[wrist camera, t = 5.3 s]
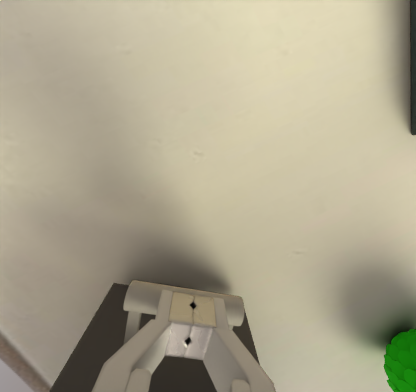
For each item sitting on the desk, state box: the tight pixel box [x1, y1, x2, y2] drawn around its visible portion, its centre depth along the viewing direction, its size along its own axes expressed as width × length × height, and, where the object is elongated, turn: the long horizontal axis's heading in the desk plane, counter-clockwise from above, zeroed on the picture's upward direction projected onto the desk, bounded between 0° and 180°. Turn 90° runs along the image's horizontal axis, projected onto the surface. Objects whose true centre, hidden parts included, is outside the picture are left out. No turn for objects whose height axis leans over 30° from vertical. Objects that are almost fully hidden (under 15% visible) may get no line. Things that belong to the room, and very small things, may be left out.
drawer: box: [49, 280, 260, 392], centre depth 13 cm, size 17×10×8 cm, turn 167°
